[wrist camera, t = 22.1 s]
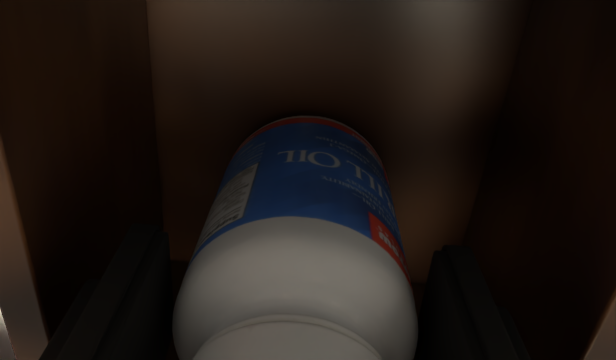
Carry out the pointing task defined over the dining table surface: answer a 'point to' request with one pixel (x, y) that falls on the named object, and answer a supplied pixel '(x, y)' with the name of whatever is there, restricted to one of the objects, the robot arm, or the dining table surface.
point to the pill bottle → (299, 255)
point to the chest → (325, 103)
